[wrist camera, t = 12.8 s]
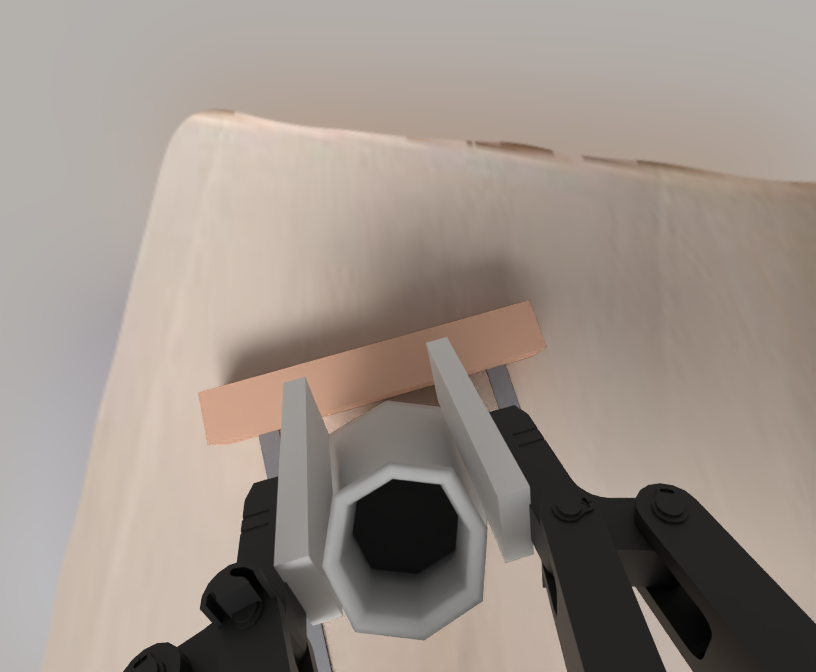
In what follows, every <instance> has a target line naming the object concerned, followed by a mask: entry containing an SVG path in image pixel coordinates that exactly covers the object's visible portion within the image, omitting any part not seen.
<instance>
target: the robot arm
mask: <svg viewBox="0 0 816 672" xmlns="http://www.w3.org/2000/svg"><path fill="white" fill-rule="evenodd" d="M426 345H427V350H428V354H429V359H430V364H431V369H432V374H433V379H434V384H435V389H436V394H437V399H438V402H439V405H440V407H441V410H442V412H443V414H444V417H445V419H446V422H447V424H448V426H449V429H450V431H451V434H452V436H453V438H454V441H455V443H456V445H457V448H458V450H459V453H460V455H461V457H462V460H463V462H464V465H465V467H466V469H467V472H468V474H469V477H470V479H471V481H472V484H473V486H474V489H475V491H476V493H477V496H478V498H479V500H480V503H481V505H482V508H483V510H484V512H485V515H486V517H487V520H488V522H489V524H490V527H491V529H492V532H493V534H494V536H495V539H496V541H497V543H498V546H499V548H500V551H501V553H502V555H503V558H504V560H505V563H508V562H511V561H514V560H517V559H520V558H523V557H526V556H529V555H532V554H534V551H533V544H534V546H535V548H536V550H537V552H538V554H539V556H540V558H541V561H542V581H543V588H545V587H546V589H547V593H548V597H549V601H550V605H551V609H552V613H553V617H554V621H555V625H556V629H557V633H558V637H559V641H560V645H561V649H562V653H563V657H564V661H565V665H566V669H567V672H666V670H665V667H664V665H663V662H662V660H661V657H660V655H659V653H658V650H657V648H656V645H655V643H654V640H653V638H652V635H651V633H650V631H649V628H648V626H647V623H646V621H645V618H644V616H643V614H642V611H641V609H640V606H639V604H638V601H637V599H636V596H635V594H634V592H633V589H632V587H631V586H635V587H636V588H637V590H638V591H639V593H640V594H641V596H642V597H643V599H644V600H645V602H646V603H647V605H648V606H649V607H650V609H651V610H652V612H653V613H654V615H655V616H656V618H657V619H658V621H659V622H660V624H661V625H662V627H663V628H664V630H665V631H666V633H667V634H668V635H669V637H670V638H671V640H672V641H673V643H674V644H675V646H676V647H677V649H678V650H679V652H680V653H681V655H682V656H683V658H684V659H685V661H686V662H687V664H688V665H689V666H690V668H691V669H692V671H693V672H816V624H815V623H814V622H813V621H812V620H811V618H810V617H809V616H808V615H807V614H806V613H805V612H804V611H803V610H802V609H801V608H800V607H799V606H798V605H797V604H796V603H795V602H794V601H793V600H792V599H791V598H790V597H789V596H788V595H787V593H786V592H785V591H784V590H783V589H782V588H781V587H780V586H779V585H778V584H777V583H776V582H775V581H774V580H773V579H772V578H771V577H770V576H769V575H768V574H767V573H766V572H765V571H764V570H763V569H762V567H761V566H760V565H759V564H758V563H757V562H756V561H755V560H754V559H753V558H752V557H751V556H750V555H749V554H748V553H747V552H746V551H745V550H744V549H743V548H742V547H741V546H740V545H739V544H738V543H737V541H736V540H735V539H734V538H733V537H732V536H731V535H730V534H729V533H728V532H727V531H726V530H725V529H724V528H723V527H722V526H721V525H720V524H719V523H718V522H717V521H716V520H715V519H714V518H713V516H712V515H711V514H710V513H709V512H708V511H707V510H706V509H705V508H704V507H703V506H702V505H701V504H700V503H699V502H698V501H697V500H696V499H695V498H694V497H692V496H691V495H690V494H689V493H687V492H686V491H685V490H682V489H680V488H678V487H675V486H673V485H667V484H661V483H659V484H652V485H648V486H646V487H644V488H643V489H641V490H640V491H639V493H638V495H637V497H636V498H606V497H599V496H596V495H592V494H590V493H588V492H586V491H585V490H583V489H581V488H580V487H579V486H577V485H576V484H575V483H574V481H573V480H572V479H571V478H570V476H569V475H568V473H567V472H566V470H565V469H564V467H563V466H562V464H561V463H560V461H559V460H558V458H557V457H556V455H555V454H554V452H553V451H552V449H551V448H550V446H549V445H548V443H547V442H546V440H544V437H543V436H542V434H541V433H540V431H539V430H538V429H537V427H536V425H535V424H534V422H533V421H532V419H531V418H530V416H529V415H528V414H527V413H526V412H524V411H523V410H521V409H520V408H518V407H517V406H515V405H512V406H509V407H505V408H502V409H499V410H495V411H492V412H488V410H487V408H486V406H485V405H484V403H483V401H482V399H481V397H480V396H479V394H478V392H477V390H476V388H475V387H474V385H473V383H472V381H471V379H470V378H469V376H468V374H467V372H466V370H465V369H464V367H463V365H462V363H461V361H460V359H459V358H458V356H457V354H456V352H455V350H454V349H453V347H452V345H451V343H450V341H449V340H448V338H447V337H445V338H441V339H438V340H434V341H430V342H427V343H426ZM332 496H333V487H332V475H331V462H330V449H329V437H328V431H327V429H326V426H325V424H324V421H323V419H322V417H321V414H320V412H319V409H318V407H317V404H316V402H315V399H314V397H313V394H312V392H311V389H310V387H309V384H308V382H307V380H306V377H302V378H299V379H295V380H292V381H288V382H285V383H283V400H282V419H281V438H280V457H279V476H277V477H273V478H270V479H267V480H263V481H260V482H257V483H254V484H253V486H252V488H251V490H250V491H249V493H248V495H247V497H246V499H245V503H244V511H243V520H242V526H241V535H240V542H239V550H238V557H237V563H234V564H231V565H229V566H227V567H226V568H225V569H223V570H222V571H220V572H219V573H218V574H217V575H216V576H215V577H214V578H213V579H212V580H211V581H210V583H209V584H208V586H207V588H206V589H205V591H204V593H203V595H202V599H201V605H200V610H201V611H202V612H203V613H204V614H205V615H206V616H207V617H208V619H209V620H210V621H211V622H212V623H211V624H210V625H209V626H207V627H206V628H205V629H204V630H202V631H201V632H199V633H198V634H196V635H195V636H193V637H192V638H190V639H189V640H187V641H186V642H184V643H183V644H181V645H179V646H178V647H176V646H174V645H172V644H170V643H168V642H166V643H157V644H154V645H152V646H150V647H148V648H146V649H144V650H143V651H142V652H141V653H140V654H138V655H137V656H136V657H135V658H134V659H133V660H132V661H131V662H130V663H129V665H128V666H127V667H126V669H125V670H124V671H123V672H318V668H317V664H316V660H315V655H314V651H313V647H312V645H311V643H310V641H309V639H308V637H307V618H308V619H309V621H310V623H311V624H312V626H314V625H317V624H320V623H323V622H326V621H330V620H333V619H336V618H339V617H342V616H343V614H342V605H341V603H340V601H339V599H338V597H337V595H336V593H335V591H334V589H333V587H332V585H331V583H330V581H329V579H328V577H327V575H326V573H325V571H324V569H323V567H322V565H323V558H324V551H325V544H326V537H327V530H328V523H329V516H330V509H331V502H332ZM306 616H307V618H306Z"/></svg>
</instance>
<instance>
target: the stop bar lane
mask: <svg viewBox="0 0 816 672" xmlns="http://www.w3.org/2000/svg"><path fill="white" fill-rule="evenodd" d="M445 337H447V338H448V340H449V341H450V343H451V345H452V347H453V349H454V350H455V352H456V354H457V356H458V358H459V359H460V361H461V363H462V365H463V367H464V369H465V370H466V372H467V374H468V375H470V374H473V373H477V372H480V371H483V370H487V373H488V376H489V379H490V383H491V386H492V389H493V392H494V395H495V398H496V401H497V404H498V407H499V409H502V408H505V407H509V406H512V405H515V406H517V407H518V408H520V407H519V404H518V401H517V398H516V395H515V392H514V389H513V387H512V384H511V381H510V378H509V375H508V372H507V369H506V366H505V364H508V363H511V362H515V361H518V360H521V359H525V358H528V357H532V356H533V355H535V354H536V353H538V352H540V351H541V350H543V349H545V348H546V344H545V341H544V339H543V336H542V333H541V330H540V328H539V325H538V322H537V320H536V317H535V314H534V311H533V309H532V306H531V303H530V300H528V301H524V302H521V303H517V304H514V305H510V306H507V307H503V308H499V309H496V310H492V311H489V312H485V313H481V314H478V315H474V316H471V317H467V318H464V319H460V320H456V321H453V322H449V323H446V324H442V325H438V326H435V327H431V328H428V329H424V330H421V331H417V332H413V333H410V334H406V335H403V336H399V337H396V338H392V339H388V340H385V341H381V342H378V343H374V344H370V345H367V346H363V347H360V348H356V349H353V350H349V351H345V352H342V353H338V354H335V355H331V356H327V357H324V358H320V359H317V360H313V361H310V362H306V363H302V364H299V365H295V366H292V367H288V368H284V369H281V370H277V371H274V372H270V373H267V374H263V375H259V376H256V377H252V378H249V379H245V380H242V381H238V382H234V383H231V384H227V385H224V386H220V387H216V388H213V389H209V390H206V391H202V392H199V393H198V395H199V400H200V405H201V411H202V416H203V422H204V427H205V433H206V438H207V444H208V445H216V444H231V443H234V442H238V441H241V440H245V439H248V438H252V437H255V436H259V440H260V445H261V450H262V454H263V459H264V464H265V469H266V473H267V478H268V479H270V478H273V477H277V476H279V457H280V433H279V429H281V419H282V400H283V383H285V382H288V381H292V380H295V379H299V378H302V377H306V380H307V382H308V384H309V387H310V389H311V392H312V394H313V397H314V399H315V402H316V404H317V407H318V409H319V412H320V414H321V417H324V416H328V415H331V414H335V413H338V412H342V411H345V410H349V409H352V408H355V407H359V406H362V405H366V404H369V403H373V402H376V401H380V400H383V399H387V398H390V397H393V396H397V395H400V394H404V393H407V392H411V391H414V390H418V389H421V388H425V387H428V386H432V385H435V384H434V379H433V374H432V369H431V364H430V359H429V354H428V350H427V345H426V343H427V342H430V341H434V340H438V339H441V338H445ZM306 618H307V616H306ZM307 637H308V639H309V641H310V643H311V645H312V647H313V651H314V655H315V660H316V664H317V668H318V672H332V670H331V666H330V661H329V656H328V652H327V647H326V643H325V638H324V634H323V629H322V624H321V623H320V624H317V625H314V626H312V624H311V623H310V621H309V619H308V618H307Z"/></svg>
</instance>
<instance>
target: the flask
mask: <svg viewBox="0 0 816 672" xmlns="http://www.w3.org/2000/svg"><path fill="white" fill-rule="evenodd" d="M328 437H329V449H330V462H331V475H332V487H333V496H332V502H331V509H330V516H329V523H328V530H327V537H326V544H325V551H324V558H323V565H322V567H323V569H324V571H325V573H326V575H327V577H328V579H329V581H330V583H331V585H332V587H333V589H334V591H335V593H336V595H337V597H338V599H339V601H340V603H341V605H342V607H343V609H344V611H345V613H346V615H347V617H348V619H349V621H350V623H351V625H352V627H353V629H354V631H355V632H359V633H368V634H376V635H384V636H392V637H400V638H409V639H417V640H425V639H427V638H428V637H430V636H431V635H433V634H434V633H436V632H437V631H439V630H440V629H442V628H443V627H445V626H446V625H448V624H449V623H451V622H452V621H454V620H455V619H457V618H458V617H460V616H461V615H463V614H464V613H465V612H467V611H468V610H470V609H471V608H473V607H474V606H476V605H477V604H479V603H480V602H482V601H483V588H484V573H485V558H486V543H487V517H486V515H485V512H484V510H483V508H482V505H481V503H480V500H479V498H478V496H477V493H476V491H475V489H474V486H473V484H472V481H471V479H470V477H469V474H468V472H467V469H466V467H465V465H464V462H463V460H462V457H461V455H460V453H459V450H458V448H457V445H456V443H455V441H454V438H453V436H452V434H451V431H450V429H449V426H448V424H447V422H446V419H445V417H444V414H443V412H442V410H441V407H440V406H432V405H423V404H414V403H405V402H397V401H388V400H386V401H385V402H383V403H381V404H379V405H378V406H376V407H374V408H373V409H371V410H369V411H368V412H366V413H364V414H362V415H361V416H359V417H357V418H356V419H354V420H352V421H351V422H349V423H347V424H345V425H344V426H342V427H340V428H339V429H337V430H335V431H334V432H332V433H330V434H328Z"/></svg>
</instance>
